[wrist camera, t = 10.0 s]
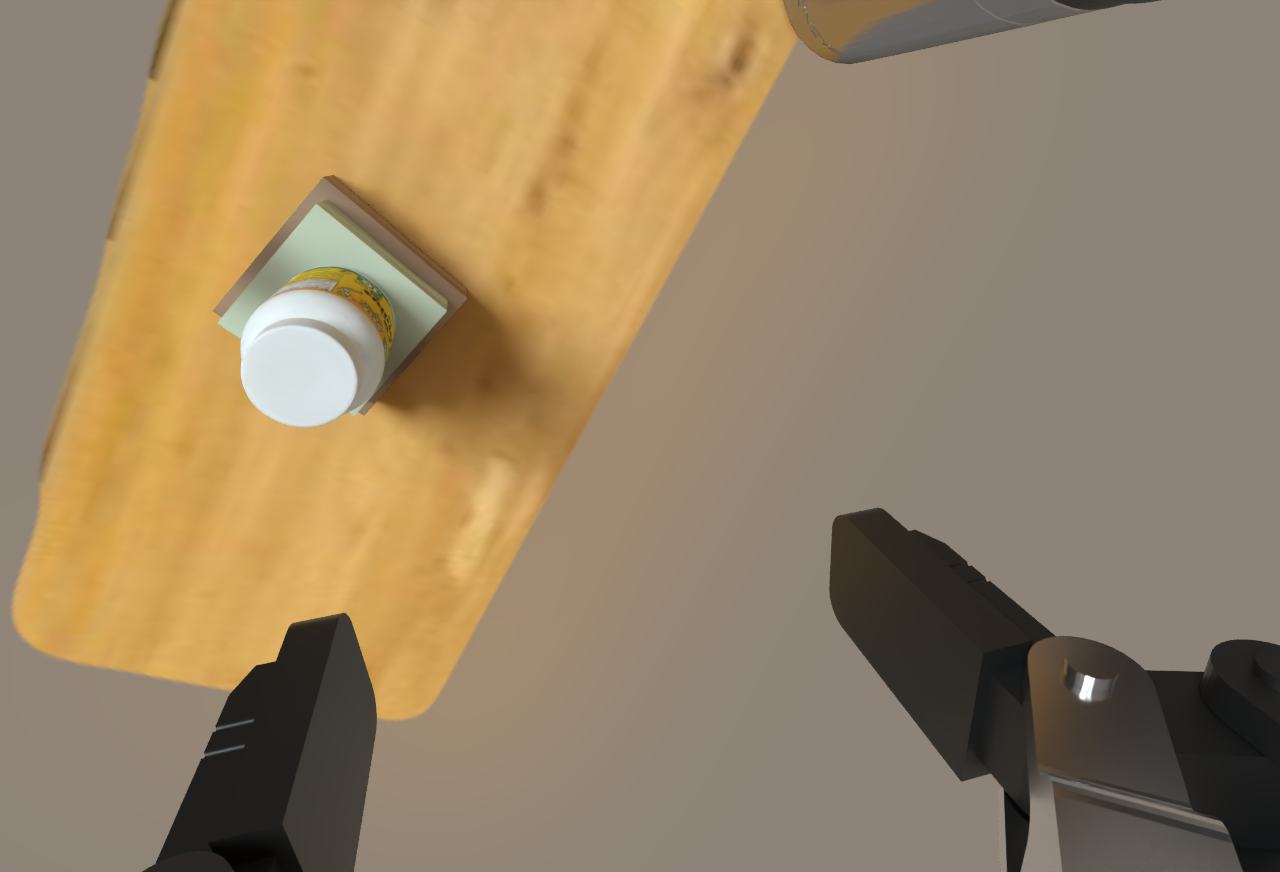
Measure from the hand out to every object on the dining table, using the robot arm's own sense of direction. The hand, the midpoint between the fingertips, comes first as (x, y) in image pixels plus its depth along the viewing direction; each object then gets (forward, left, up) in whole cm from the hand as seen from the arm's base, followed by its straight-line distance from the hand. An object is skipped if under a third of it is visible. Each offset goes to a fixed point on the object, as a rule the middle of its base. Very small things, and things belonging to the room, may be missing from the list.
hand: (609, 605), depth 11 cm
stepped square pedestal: (+6, -5, -33) cm, 34 cm away
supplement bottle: (+6, -5, -27) cm, 28 cm away
